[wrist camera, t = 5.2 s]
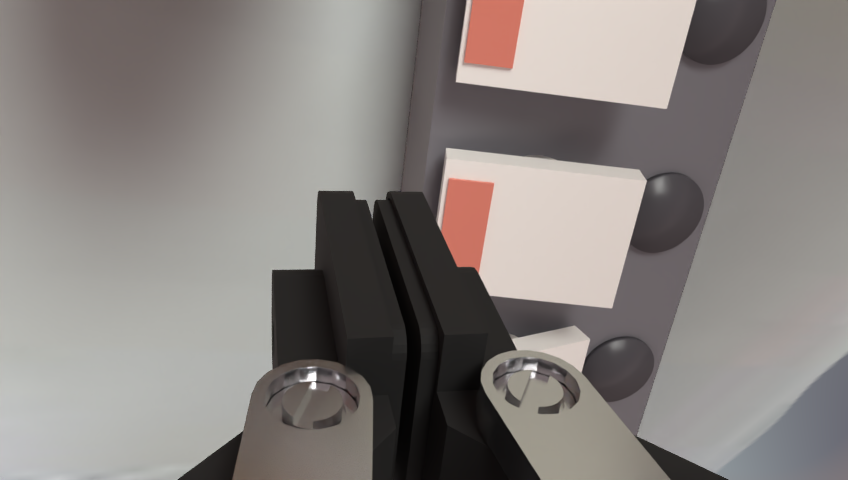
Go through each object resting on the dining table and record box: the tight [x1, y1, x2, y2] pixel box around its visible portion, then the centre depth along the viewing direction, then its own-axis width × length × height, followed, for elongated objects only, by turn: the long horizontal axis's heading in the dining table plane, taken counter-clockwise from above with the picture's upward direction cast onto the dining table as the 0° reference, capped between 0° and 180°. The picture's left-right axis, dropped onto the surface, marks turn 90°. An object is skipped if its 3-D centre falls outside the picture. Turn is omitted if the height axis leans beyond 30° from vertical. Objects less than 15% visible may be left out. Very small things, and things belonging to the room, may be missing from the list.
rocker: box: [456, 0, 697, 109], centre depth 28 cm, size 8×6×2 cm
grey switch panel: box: [401, 0, 776, 436], centre depth 35 cm, size 14×36×4 cm, turn 174°
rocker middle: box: [436, 148, 647, 308], centre depth 32 cm, size 8×6×2 cm
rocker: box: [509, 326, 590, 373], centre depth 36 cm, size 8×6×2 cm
